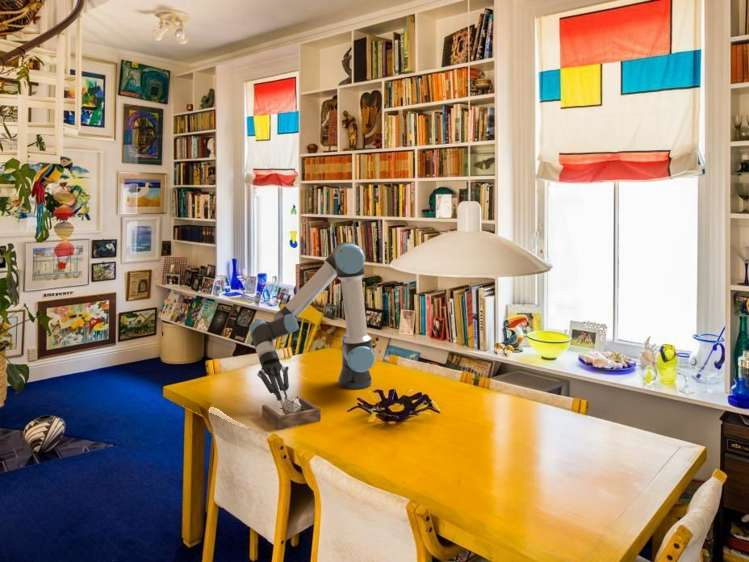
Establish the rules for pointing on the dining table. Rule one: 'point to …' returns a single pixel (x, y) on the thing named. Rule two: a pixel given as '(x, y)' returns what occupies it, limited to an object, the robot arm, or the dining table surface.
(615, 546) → the dining table surface
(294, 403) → the grey spiked ball
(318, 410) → the shallow brown tray
